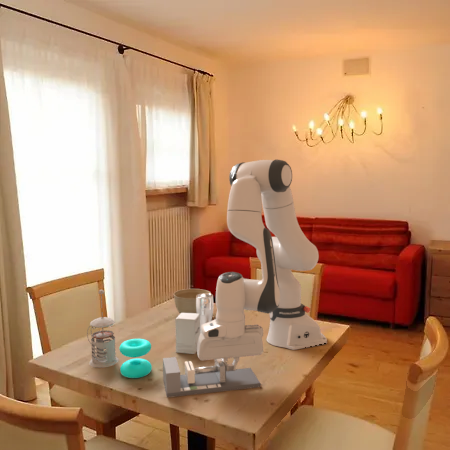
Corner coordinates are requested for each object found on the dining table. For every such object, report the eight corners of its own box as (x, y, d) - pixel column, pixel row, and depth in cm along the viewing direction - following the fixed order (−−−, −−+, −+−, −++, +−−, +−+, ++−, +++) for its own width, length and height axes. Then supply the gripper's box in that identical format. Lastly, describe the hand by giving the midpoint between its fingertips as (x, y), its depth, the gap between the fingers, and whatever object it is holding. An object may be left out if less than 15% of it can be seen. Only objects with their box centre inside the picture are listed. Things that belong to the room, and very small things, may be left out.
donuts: (132, 351, 143) (112, 343, 150) (133, 382, 145) (113, 373, 151) (157, 342, 151) (137, 334, 157) (158, 372, 152) (138, 363, 159)
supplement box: (195, 354, 166) (195, 319, 164) (175, 352, 167) (174, 318, 166) (200, 346, 173) (200, 313, 171) (181, 345, 174) (180, 311, 173)
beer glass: (204, 327, 192) (204, 292, 191) (217, 331, 188) (217, 295, 186) (192, 332, 187) (192, 295, 185) (205, 336, 183) (205, 299, 181)
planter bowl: (205, 325, 196) (205, 299, 195) (168, 322, 200) (168, 297, 198) (215, 313, 211) (215, 289, 210) (181, 310, 215) (180, 287, 214)
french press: (103, 370, 154) (100, 295, 150) (79, 362, 160) (75, 290, 156) (124, 359, 162) (122, 288, 159) (100, 352, 168) (97, 284, 165)
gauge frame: (250, 371, 152) (250, 349, 151) (260, 386, 141) (260, 364, 140) (163, 380, 146) (162, 358, 145) (166, 397, 135) (166, 373, 134)
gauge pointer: (191, 373, 145) (191, 360, 145) (194, 382, 139) (194, 369, 138) (185, 374, 145) (184, 361, 144) (188, 383, 138) (187, 370, 138)
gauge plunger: (221, 370, 148) (220, 355, 148) (226, 381, 140) (226, 365, 140) (193, 373, 146) (193, 357, 146) (197, 385, 139) (197, 368, 138)
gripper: (260, 320, 148) (260, 363, 150) (195, 325, 143) (196, 369, 145) (266, 327, 142) (266, 371, 144) (199, 333, 137) (199, 378, 139)
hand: (230, 370), depth 144 cm, fingers closed
